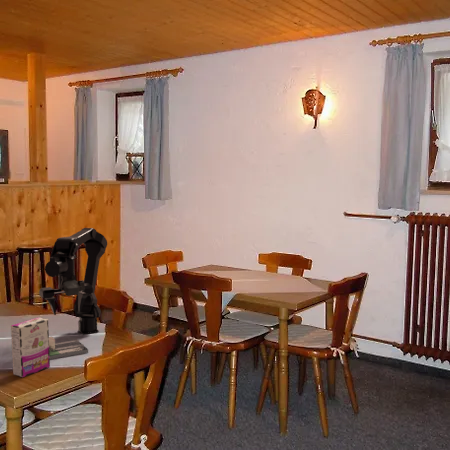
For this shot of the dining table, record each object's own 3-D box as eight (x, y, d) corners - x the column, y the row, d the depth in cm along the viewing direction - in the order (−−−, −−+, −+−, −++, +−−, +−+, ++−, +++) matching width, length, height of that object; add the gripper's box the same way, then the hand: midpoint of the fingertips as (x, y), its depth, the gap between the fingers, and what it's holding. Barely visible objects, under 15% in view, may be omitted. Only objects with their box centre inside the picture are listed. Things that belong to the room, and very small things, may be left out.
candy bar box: (40, 364, 182) (39, 316, 181) (50, 367, 180) (49, 319, 178) (11, 374, 173) (10, 324, 171) (21, 378, 170) (20, 327, 168)
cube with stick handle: (52, 347, 195) (51, 336, 195) (58, 353, 189) (57, 342, 189) (40, 349, 193) (40, 338, 193) (46, 355, 187) (46, 344, 186)
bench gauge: (76, 342, 205) (76, 329, 204) (88, 352, 194) (88, 338, 194) (24, 351, 195) (24, 337, 194) (33, 362, 184) (33, 347, 183)
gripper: (46, 278, 188) (47, 322, 190) (98, 273, 198) (99, 314, 200) (38, 272, 197) (39, 314, 199) (88, 268, 207) (89, 308, 209)
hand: (67, 313), depth 201 cm, fingers open, 9 cm apart
